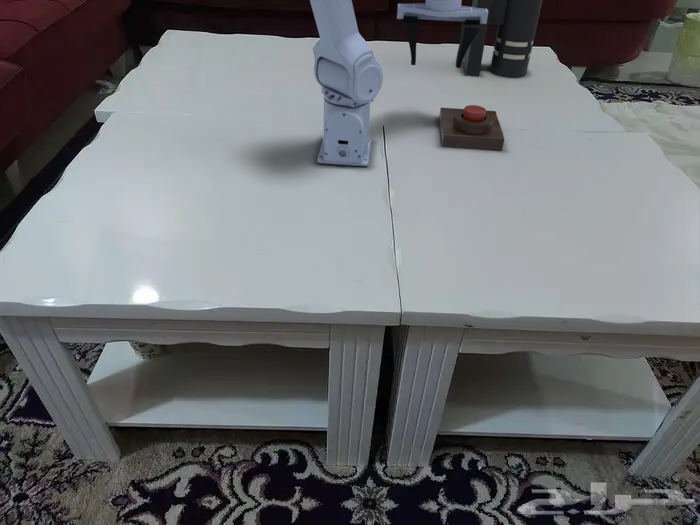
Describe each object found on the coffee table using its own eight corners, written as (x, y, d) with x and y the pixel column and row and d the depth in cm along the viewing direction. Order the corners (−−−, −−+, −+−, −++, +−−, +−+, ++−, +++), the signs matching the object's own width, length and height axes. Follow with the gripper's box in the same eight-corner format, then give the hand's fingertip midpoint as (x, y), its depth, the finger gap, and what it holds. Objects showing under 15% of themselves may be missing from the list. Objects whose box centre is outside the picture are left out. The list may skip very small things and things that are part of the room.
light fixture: (529, 80, 125) (549, -9, 114) (466, 75, 126) (480, -13, 115) (522, 65, 133) (541, -19, 122) (463, 61, 134) (476, -23, 123)
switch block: (502, 150, 96) (506, 128, 93) (442, 146, 96) (445, 124, 94) (493, 122, 105) (497, 101, 103) (438, 118, 106) (441, 97, 103)
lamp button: (485, 123, 96) (487, 113, 94) (463, 122, 96) (465, 112, 95) (482, 115, 98) (484, 105, 97) (461, 114, 99) (463, 104, 98)
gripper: (489, -25, 93) (475, 60, 101) (400, -30, 93) (393, 55, 102) (495, -16, 87) (479, 73, 95) (400, -22, 88) (392, 67, 96)
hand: (435, 64), depth 98 cm, fingers open, 7 cm apart
